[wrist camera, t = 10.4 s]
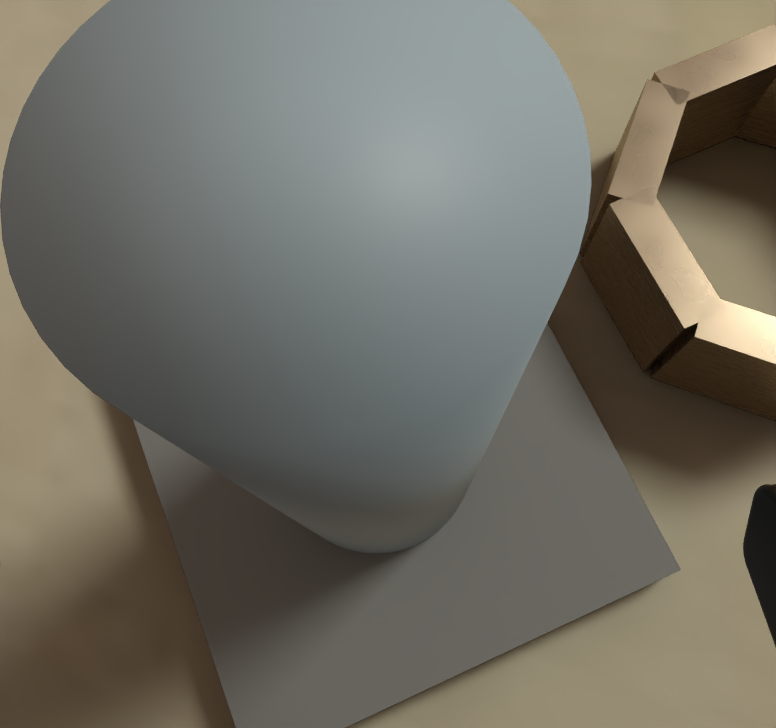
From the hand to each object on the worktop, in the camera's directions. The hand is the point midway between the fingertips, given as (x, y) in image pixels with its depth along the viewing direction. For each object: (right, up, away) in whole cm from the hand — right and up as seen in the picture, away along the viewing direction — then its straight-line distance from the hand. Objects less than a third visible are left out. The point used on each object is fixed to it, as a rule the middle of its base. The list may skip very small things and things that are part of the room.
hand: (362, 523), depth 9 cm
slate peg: (0, 0, +8) cm, 8 cm away
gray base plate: (0, 0, +9) cm, 9 cm away
